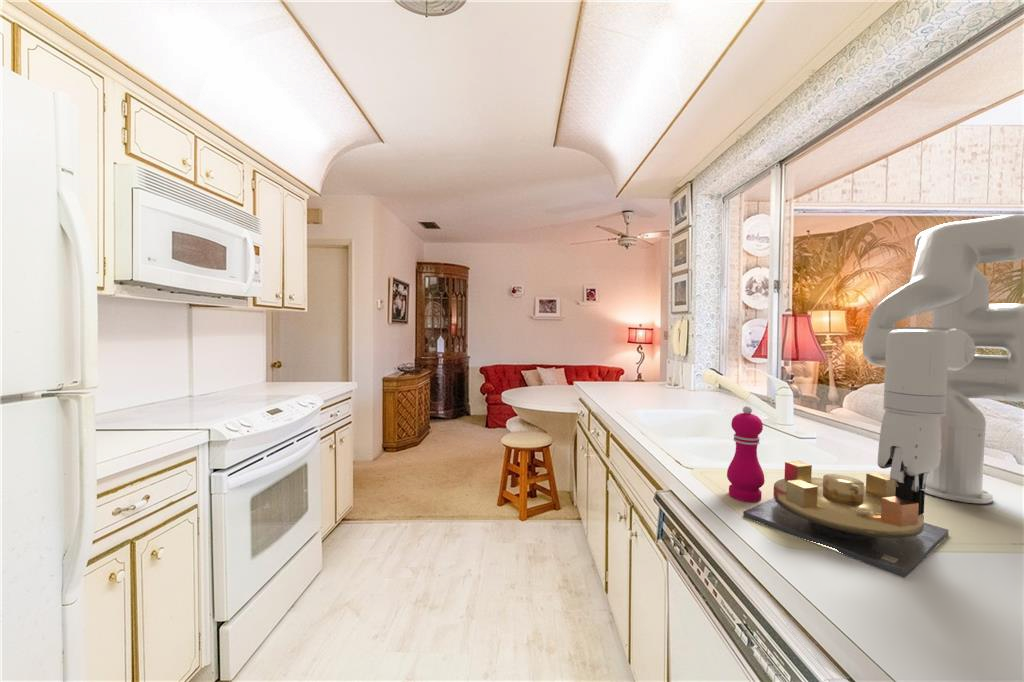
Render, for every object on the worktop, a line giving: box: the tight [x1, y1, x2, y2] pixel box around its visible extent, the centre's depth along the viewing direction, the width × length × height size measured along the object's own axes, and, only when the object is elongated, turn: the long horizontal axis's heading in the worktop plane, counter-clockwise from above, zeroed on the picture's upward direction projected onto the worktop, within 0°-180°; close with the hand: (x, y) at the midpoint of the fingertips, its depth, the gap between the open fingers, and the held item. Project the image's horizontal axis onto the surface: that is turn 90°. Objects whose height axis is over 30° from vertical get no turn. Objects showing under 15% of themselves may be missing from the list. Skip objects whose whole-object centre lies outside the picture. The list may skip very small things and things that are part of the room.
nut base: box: [742, 497, 949, 579], centre depth 80 cm, size 24×24×3 cm
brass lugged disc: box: [772, 460, 925, 538], centre depth 80 cm, size 22×22×6 cm
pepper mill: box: [726, 405, 765, 503], centre depth 92 cm, size 7×7×20 cm
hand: (909, 511), depth 71 cm, fingers closed
